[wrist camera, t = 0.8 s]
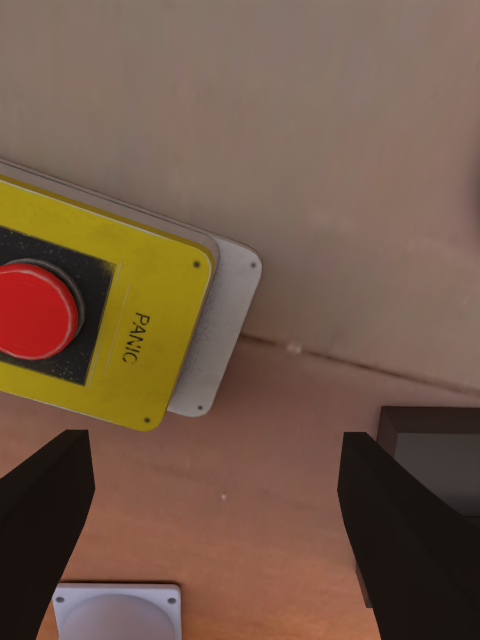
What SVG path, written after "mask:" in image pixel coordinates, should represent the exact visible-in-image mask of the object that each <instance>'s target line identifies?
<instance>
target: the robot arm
mask: <svg viewBox="0 0 480 640" xmlns="http://www.w3.org/2000/svg"><path fill="white" fill-rule="evenodd" d="M94 492H95V482H94V474H93V466H92V458H91V450H90V442H89V434H88V430H65V431H64V432H62V433H61V434H59V435H58V436H57V437H55V438H54V439H53V440H51V441H50V442H49V443H47V444H46V445H45V446H43V447H42V448H41V449H40V450H38V451H37V452H36V453H34V454H33V455H32V456H30V457H29V458H28V459H26V460H25V461H24V462H22V463H21V464H20V465H18V466H17V467H16V468H15V469H13V470H12V471H11V472H9V473H8V474H6V475H5V476H4V477H2V478H1V479H0V640H36V637H37V634H38V631H39V628H40V625H41V622H42V620H43V618H44V615H45V613H46V610H47V608H48V605H49V603H50V601H51V598H52V600H53V605H54V611H55V616H56V622H57V628H58V633H59V638H58V640H182V621H181V591H180V588H179V587H178V586H177V585H174V584H103V583H59V581H60V578H61V576H62V574H63V572H64V570H65V567H66V565H67V563H68V561H69V558H70V556H71V554H72V552H73V550H74V547H75V545H76V543H77V540H78V538H79V536H80V534H81V531H82V529H83V527H84V524H85V521H86V518H87V515H88V512H89V509H90V506H91V502H92V499H93V495H94ZM337 492H338V497H339V502H340V507H341V512H342V516H343V521H344V525H345V528H346V531H347V534H348V537H349V540H350V543H351V546H352V549H353V552H354V555H355V558H356V561H357V564H358V567H359V570H360V573H361V576H362V578H363V581H364V584H365V587H366V590H367V593H368V596H369V599H370V602H371V605H372V608H373V611H374V615H375V618H376V621H377V625H378V628H379V632H380V637H381V640H480V527H478V526H477V525H475V524H474V523H472V522H471V521H469V520H468V519H467V518H465V517H464V516H462V515H461V514H459V513H458V512H457V511H455V510H454V509H453V508H451V507H450V506H449V505H447V504H446V503H445V502H444V501H442V500H441V499H440V498H439V497H437V496H436V495H435V494H434V493H432V492H431V491H430V490H429V489H428V488H426V487H425V486H424V485H423V484H422V483H420V482H419V481H418V480H417V479H416V478H415V477H414V476H412V475H411V474H410V473H409V472H408V471H407V470H406V469H405V468H403V467H402V466H401V465H400V464H399V463H398V462H397V461H396V460H395V459H394V458H393V457H392V456H391V455H389V454H388V453H387V452H386V451H385V450H384V449H383V448H382V447H381V446H380V445H379V444H378V443H377V442H376V441H375V440H374V439H373V438H372V437H370V436H369V435H368V434H367V433H366V432H344V436H343V445H342V453H341V462H340V471H339V479H338V488H337Z"/></svg>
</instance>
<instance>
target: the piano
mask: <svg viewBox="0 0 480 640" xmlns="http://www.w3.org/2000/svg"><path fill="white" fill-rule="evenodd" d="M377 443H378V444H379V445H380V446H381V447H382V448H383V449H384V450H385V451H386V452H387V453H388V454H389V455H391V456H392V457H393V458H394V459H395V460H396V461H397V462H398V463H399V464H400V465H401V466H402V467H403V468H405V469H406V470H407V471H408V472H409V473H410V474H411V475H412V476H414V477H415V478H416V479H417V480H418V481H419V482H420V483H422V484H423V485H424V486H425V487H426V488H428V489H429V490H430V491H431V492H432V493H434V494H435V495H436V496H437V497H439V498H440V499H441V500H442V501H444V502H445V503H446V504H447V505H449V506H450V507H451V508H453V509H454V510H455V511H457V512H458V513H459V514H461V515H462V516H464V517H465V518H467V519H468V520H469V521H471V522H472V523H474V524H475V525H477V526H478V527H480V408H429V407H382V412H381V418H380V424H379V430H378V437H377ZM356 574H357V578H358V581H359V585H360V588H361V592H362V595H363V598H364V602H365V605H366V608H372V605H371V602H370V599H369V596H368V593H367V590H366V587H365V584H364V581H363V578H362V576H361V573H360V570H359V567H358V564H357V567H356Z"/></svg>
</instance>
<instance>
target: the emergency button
mask: <svg viewBox="0 0 480 640" xmlns="http://www.w3.org/2000/svg"><path fill="white" fill-rule="evenodd" d="M261 276H262V261H261V259H260V257H259V255H258V253H257V252H256V251H255V250H253V249H252V248H250V247H248V246H247V245H245V244H242V243H239V242H236V241H233V240H231V239H228V238H225V237H222V236H219V235H216V234H214V233H211V232H208V231H205V230H202V229H199V228H197V227H194V226H191V225H188V224H185V223H183V222H180V221H177V220H174V219H171V218H168V217H166V216H163V215H160V214H157V213H154V212H151V211H149V210H146V209H143V208H140V207H137V206H134V205H132V204H129V203H126V202H123V201H120V200H118V199H115V198H112V197H109V196H106V195H103V194H101V193H98V192H95V191H92V190H89V189H86V188H84V187H81V186H78V185H75V184H72V183H70V182H67V181H64V180H61V179H58V178H55V177H53V176H50V175H47V174H44V173H41V172H38V171H36V170H33V169H30V168H27V167H24V166H21V165H19V164H16V163H13V162H10V161H7V160H5V159H2V158H0V391H3V392H6V393H10V394H13V395H17V396H20V397H24V398H27V399H31V400H34V401H38V402H41V403H45V404H48V405H52V406H55V407H59V408H62V409H65V410H69V411H72V412H76V413H79V414H83V415H86V416H90V417H93V418H97V419H100V420H104V421H107V422H111V423H114V424H117V425H121V426H124V427H128V428H131V429H135V430H138V431H150V430H152V429H154V428H156V427H157V426H158V425H159V423H160V422H161V420H162V419H163V417H164V415H165V414H166V411H170V412H173V413H177V414H180V415H183V416H190V417H198V416H201V415H204V414H206V413H207V412H208V411H209V409H210V408H211V407H212V404H213V401H214V399H215V396H216V394H217V391H218V388H219V386H220V383H221V380H222V378H223V375H224V373H225V370H226V367H227V365H228V362H229V359H230V357H231V354H232V352H233V349H234V346H235V344H236V341H237V339H238V336H239V333H240V331H241V328H242V325H243V323H244V320H245V318H246V315H247V312H248V310H249V307H250V305H251V302H252V299H253V297H254V294H255V291H256V289H257V286H258V284H259V281H260V278H261Z"/></svg>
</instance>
